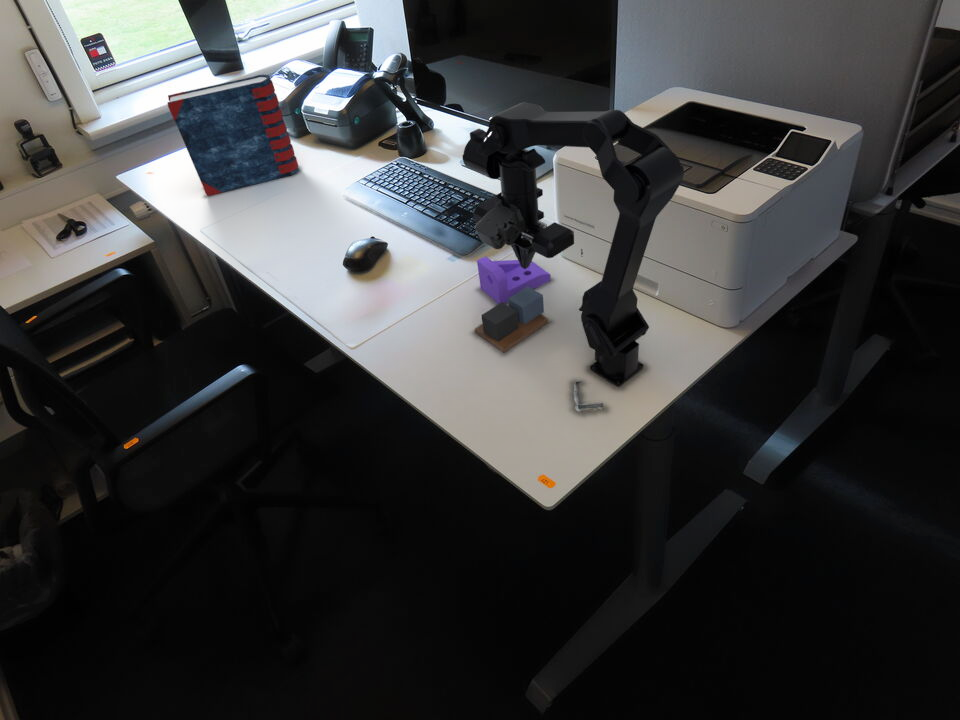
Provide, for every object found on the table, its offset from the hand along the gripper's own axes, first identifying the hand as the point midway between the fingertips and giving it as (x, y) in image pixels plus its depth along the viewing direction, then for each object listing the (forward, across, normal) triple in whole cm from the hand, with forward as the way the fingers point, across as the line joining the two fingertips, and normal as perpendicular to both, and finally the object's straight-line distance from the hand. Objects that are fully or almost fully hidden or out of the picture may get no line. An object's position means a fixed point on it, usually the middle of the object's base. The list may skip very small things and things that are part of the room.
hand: (525, 267), depth 117 cm
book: (+11, -98, -7) cm, 99 cm away
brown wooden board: (+11, 0, -4) cm, 12 cm away
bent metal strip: (+11, +22, -9) cm, 26 cm away
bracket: (+11, -9, +5) cm, 15 cm away
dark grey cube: (+10, 0, -7) cm, 12 cm away
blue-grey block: (+10, 0, -1) cm, 10 cm away
